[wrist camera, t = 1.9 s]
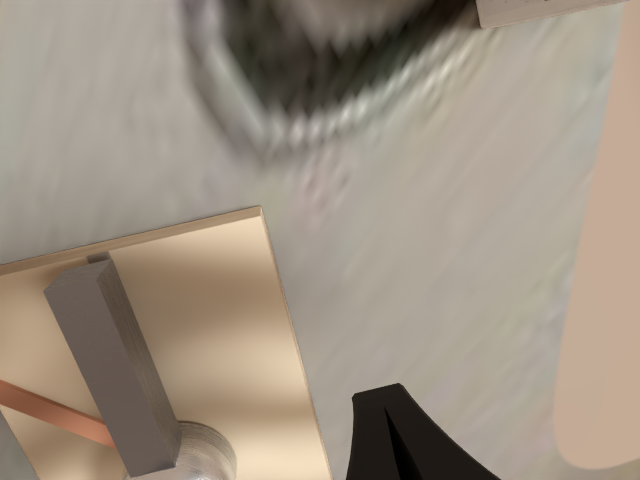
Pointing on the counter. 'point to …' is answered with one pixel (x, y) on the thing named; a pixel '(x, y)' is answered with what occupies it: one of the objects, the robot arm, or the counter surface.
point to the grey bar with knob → (131, 381)
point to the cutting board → (168, 351)
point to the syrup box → (530, 10)
